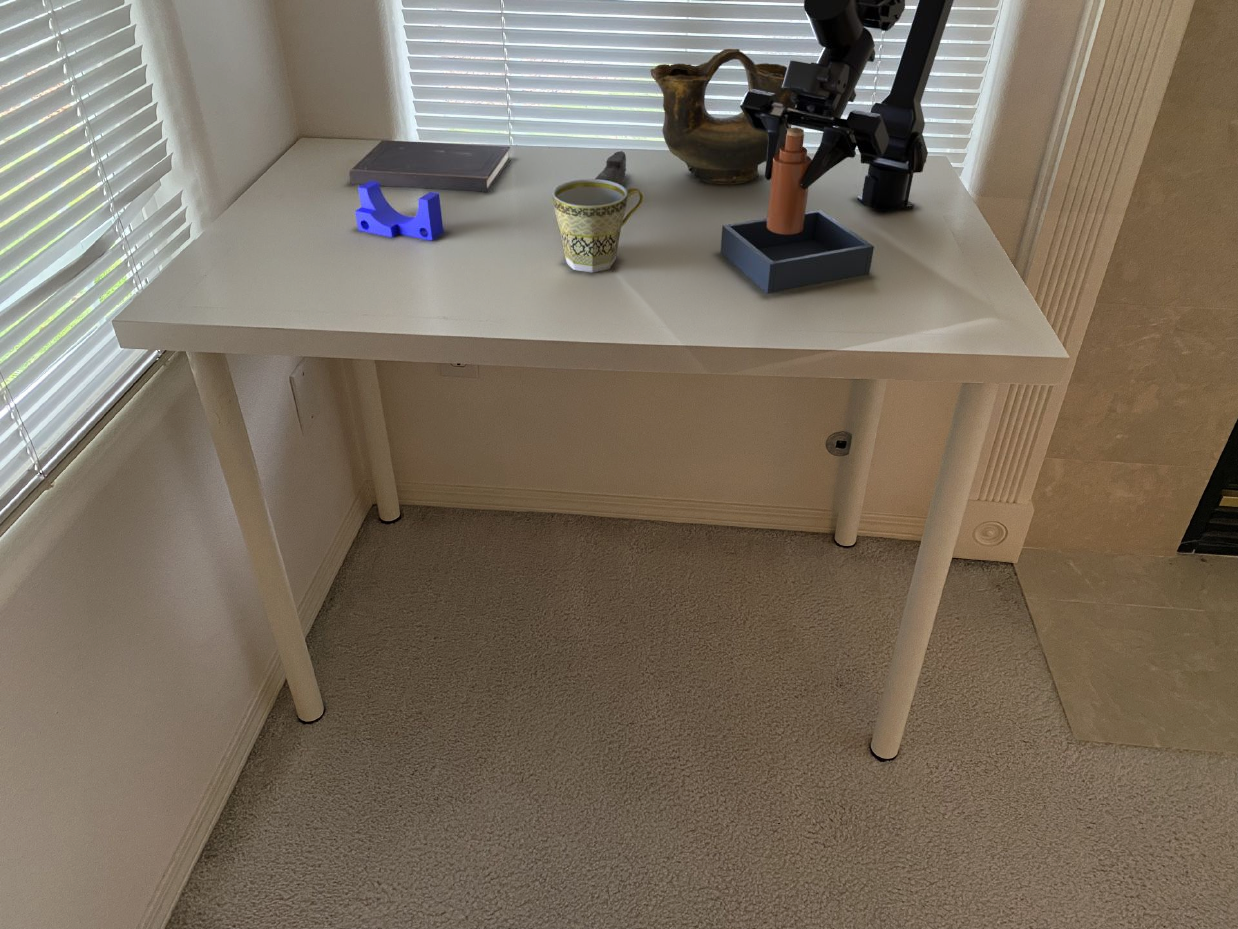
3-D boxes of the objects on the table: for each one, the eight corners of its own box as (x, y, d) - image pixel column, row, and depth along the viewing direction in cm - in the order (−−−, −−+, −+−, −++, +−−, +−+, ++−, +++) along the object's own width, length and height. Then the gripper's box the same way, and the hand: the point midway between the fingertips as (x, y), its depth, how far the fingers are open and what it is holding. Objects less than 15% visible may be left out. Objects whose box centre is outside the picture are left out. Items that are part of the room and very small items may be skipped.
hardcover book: (384, 153, 166) (382, 139, 164) (510, 159, 163) (509, 146, 162) (350, 185, 153) (348, 171, 152) (487, 193, 151) (486, 179, 149)
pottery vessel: (653, 189, 152) (656, 60, 140) (644, 166, 161) (647, 42, 149) (803, 183, 154) (819, 56, 142) (787, 161, 163) (800, 39, 151)
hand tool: (599, 218, 142) (599, 189, 140) (574, 215, 143) (574, 185, 141) (639, 177, 157) (640, 150, 154) (616, 174, 158) (617, 147, 155)
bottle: (791, 217, 124) (802, 122, 117) (810, 231, 121) (823, 133, 113) (759, 223, 123) (768, 126, 115) (777, 236, 119) (788, 138, 112)
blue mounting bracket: (358, 230, 139) (351, 190, 135) (377, 219, 142) (370, 180, 138) (426, 244, 135) (421, 204, 131) (443, 233, 138) (439, 193, 134)
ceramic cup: (573, 283, 124) (571, 211, 118) (543, 255, 132) (540, 186, 126) (658, 264, 129) (661, 194, 123) (625, 238, 136) (625, 170, 130)
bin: (816, 239, 136) (820, 209, 134) (868, 277, 126) (874, 246, 124) (720, 255, 132) (722, 225, 129) (766, 296, 122) (770, 264, 119)
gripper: (753, 20, 115) (699, 134, 115) (895, 43, 106) (837, 166, 106) (779, 73, 125) (729, 178, 124) (911, 98, 116) (857, 212, 115)
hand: (784, 183), depth 117 cm, fingers closed on bottle, 5 cm apart
